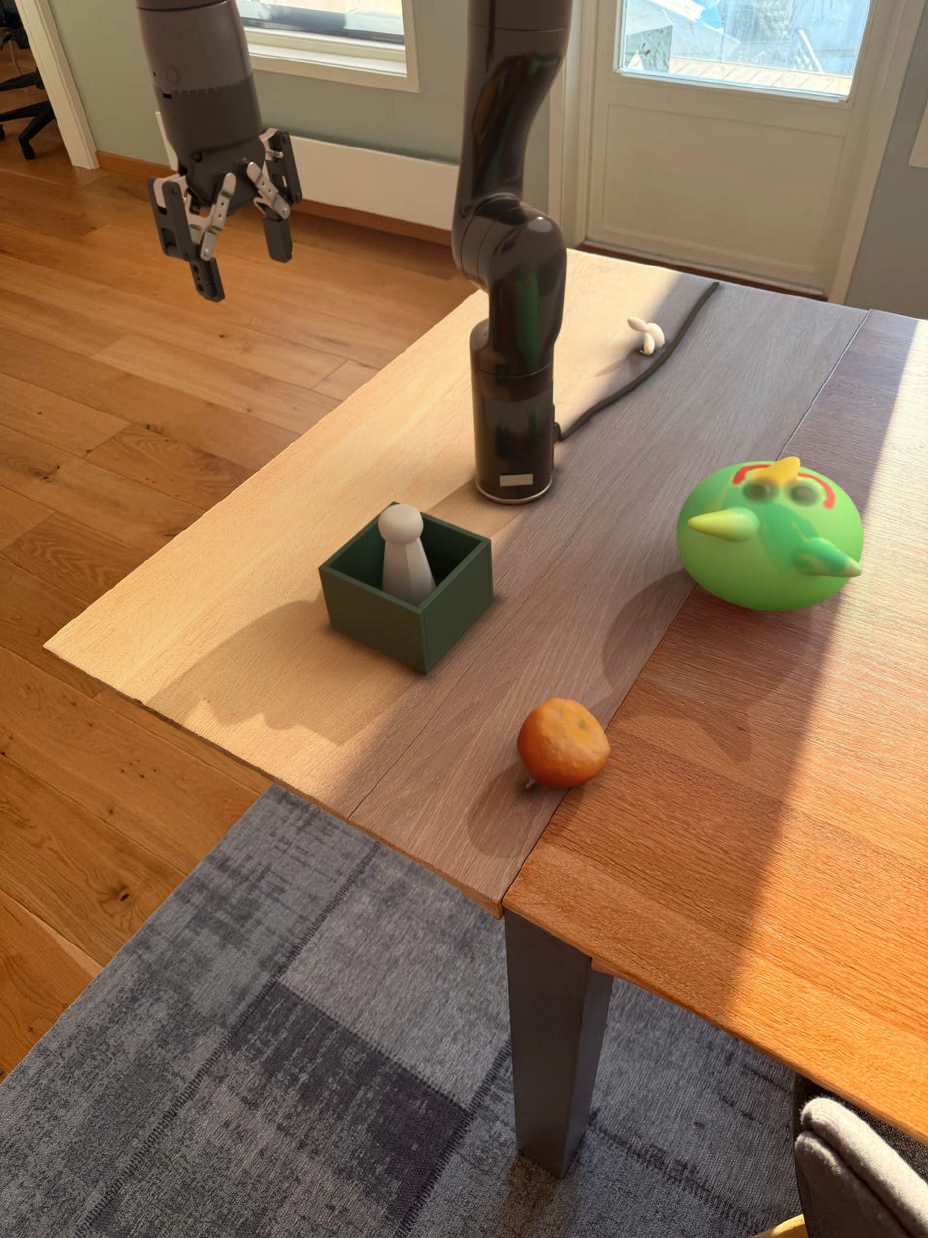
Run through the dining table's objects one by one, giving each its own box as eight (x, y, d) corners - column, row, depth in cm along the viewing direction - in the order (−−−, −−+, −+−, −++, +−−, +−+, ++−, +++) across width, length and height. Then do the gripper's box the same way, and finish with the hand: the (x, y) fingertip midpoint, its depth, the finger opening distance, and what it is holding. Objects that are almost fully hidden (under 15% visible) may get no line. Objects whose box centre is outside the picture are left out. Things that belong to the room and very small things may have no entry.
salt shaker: (431, 632, 93) (421, 536, 84) (378, 626, 94) (361, 530, 85) (444, 593, 97) (435, 497, 88) (392, 588, 98) (378, 492, 89)
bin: (401, 560, 102) (393, 500, 96) (493, 600, 97) (491, 539, 91) (331, 628, 95) (317, 567, 89) (426, 675, 90) (418, 614, 84)
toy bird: (847, 553, 99) (885, 441, 89) (839, 663, 88) (880, 550, 78) (682, 525, 104) (699, 415, 94) (654, 626, 93) (670, 515, 83)
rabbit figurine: (679, 347, 132) (657, 345, 126) (658, 364, 134) (636, 363, 128) (657, 314, 133) (635, 310, 127) (637, 332, 135) (614, 329, 129)
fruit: (491, 728, 83) (537, 675, 78) (563, 747, 86) (611, 697, 81) (501, 803, 77) (551, 750, 73) (578, 821, 81) (630, 771, 76)
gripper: (232, 41, 74) (272, 240, 85) (93, 91, 66) (158, 303, 77) (301, 51, 70) (333, 256, 82) (164, 104, 62) (221, 323, 74)
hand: (248, 279), depth 80 cm, fingers open, 8 cm apart
